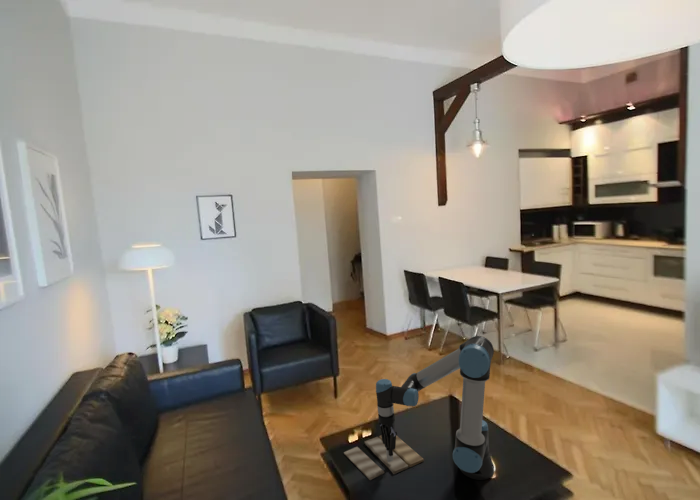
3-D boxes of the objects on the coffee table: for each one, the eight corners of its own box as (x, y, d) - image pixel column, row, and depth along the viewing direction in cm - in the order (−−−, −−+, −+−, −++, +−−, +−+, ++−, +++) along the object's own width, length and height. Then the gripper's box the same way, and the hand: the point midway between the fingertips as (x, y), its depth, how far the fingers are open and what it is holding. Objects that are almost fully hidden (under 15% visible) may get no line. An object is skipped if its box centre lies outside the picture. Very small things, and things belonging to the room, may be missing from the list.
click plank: (408, 468, 175) (408, 465, 175) (394, 474, 172) (393, 471, 172) (377, 438, 200) (377, 436, 200) (364, 443, 197) (364, 441, 197)
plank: (384, 474, 173) (384, 471, 173) (370, 481, 169) (370, 478, 169) (357, 448, 194) (357, 446, 194) (343, 454, 190) (343, 452, 190)
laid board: (423, 461, 179) (423, 458, 179) (410, 467, 176) (409, 464, 176) (391, 433, 204) (391, 431, 204) (379, 438, 201) (379, 435, 201)
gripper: (400, 416, 171) (404, 465, 173) (385, 405, 183) (389, 450, 185) (386, 421, 168) (391, 471, 170) (372, 409, 180) (376, 456, 181)
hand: (390, 460), depth 177 cm, fingers closed
